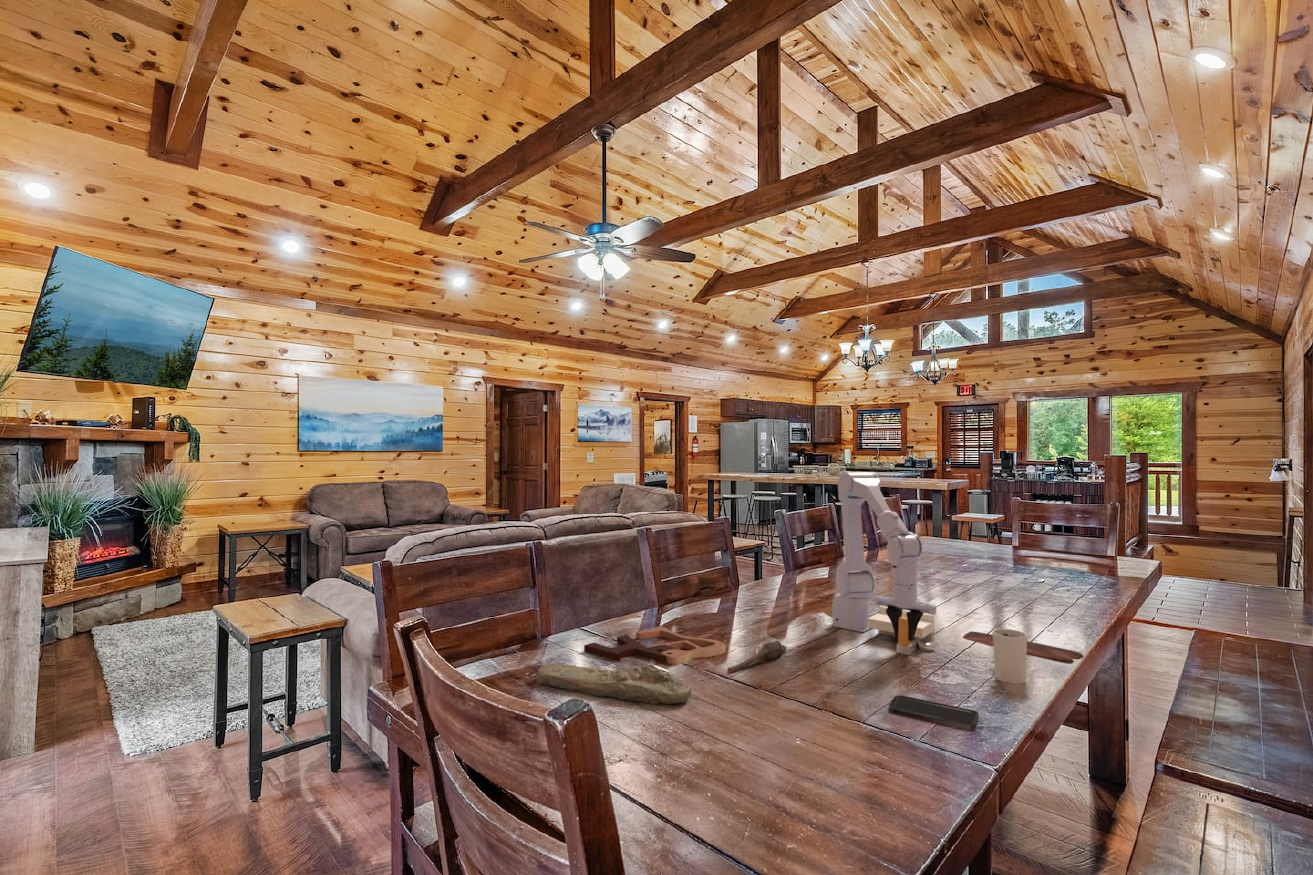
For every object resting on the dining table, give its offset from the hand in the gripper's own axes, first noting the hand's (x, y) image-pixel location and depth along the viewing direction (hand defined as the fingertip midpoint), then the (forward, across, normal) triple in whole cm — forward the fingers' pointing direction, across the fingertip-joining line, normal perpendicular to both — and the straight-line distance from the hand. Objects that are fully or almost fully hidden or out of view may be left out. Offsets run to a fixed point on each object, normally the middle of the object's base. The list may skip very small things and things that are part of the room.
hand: (904, 638), depth 153 cm
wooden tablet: (+4, +20, +25) cm, 32 cm away
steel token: (+4, +3, +7) cm, 8 cm away
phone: (+4, +17, -32) cm, 36 cm away
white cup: (+4, +24, -2) cm, 24 cm away
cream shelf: (+3, -4, +10) cm, 11 cm away
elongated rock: (+4, -37, -65) cm, 75 cm away
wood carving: (+4, -46, -40) cm, 61 cm away
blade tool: (+3, 0, +4) cm, 5 cm away
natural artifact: (+4, -24, -29) cm, 38 cm away
